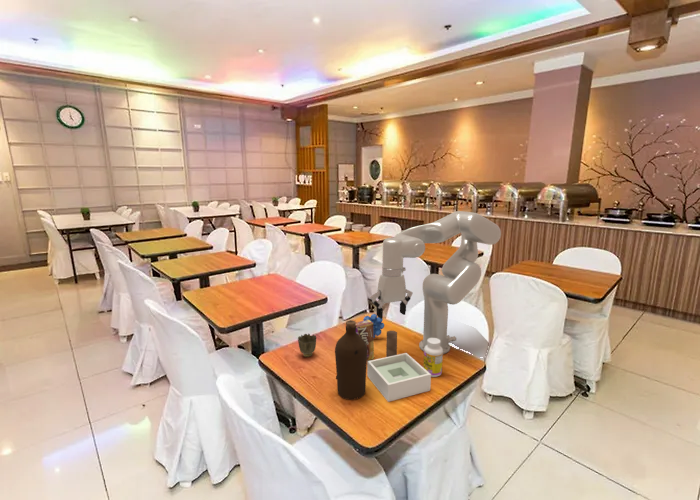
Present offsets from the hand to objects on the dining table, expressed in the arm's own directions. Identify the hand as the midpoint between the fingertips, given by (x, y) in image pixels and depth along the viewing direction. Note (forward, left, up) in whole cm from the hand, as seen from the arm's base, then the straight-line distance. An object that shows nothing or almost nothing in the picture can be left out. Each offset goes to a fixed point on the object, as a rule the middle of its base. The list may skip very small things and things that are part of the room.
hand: (391, 315), depth 135 cm
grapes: (-1, -21, -19) cm, 29 cm away
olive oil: (+21, +12, -19) cm, 31 cm away
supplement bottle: (-10, +13, -19) cm, 26 cm away
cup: (+29, -17, -19) cm, 39 cm away
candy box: (+10, -6, -19) cm, 22 cm away
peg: (0, 0, -19) cm, 19 cm away
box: (+5, +14, -19) cm, 24 cm away
